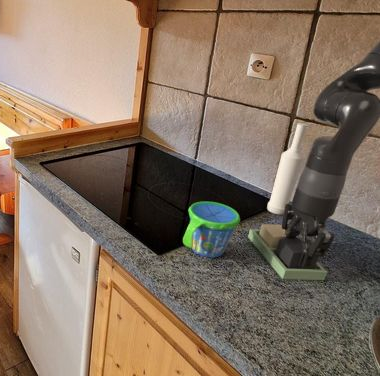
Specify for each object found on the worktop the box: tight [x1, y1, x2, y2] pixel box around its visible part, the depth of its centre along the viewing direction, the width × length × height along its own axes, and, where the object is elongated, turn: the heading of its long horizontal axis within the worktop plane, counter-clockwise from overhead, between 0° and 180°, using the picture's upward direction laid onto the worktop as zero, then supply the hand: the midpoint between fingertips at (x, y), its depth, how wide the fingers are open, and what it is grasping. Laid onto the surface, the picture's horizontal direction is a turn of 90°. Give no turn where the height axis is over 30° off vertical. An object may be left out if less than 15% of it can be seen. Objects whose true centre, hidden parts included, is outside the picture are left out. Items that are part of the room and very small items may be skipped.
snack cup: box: [182, 201, 241, 259], centre depth 93 cm, size 16×10×10 cm
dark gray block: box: [276, 238, 319, 269], centre depth 88 cm, size 6×6×4 cm
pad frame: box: [247, 228, 328, 281], centre depth 92 cm, size 9×17×2 cm, turn 179°
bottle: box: [266, 122, 308, 216], centre depth 108 cm, size 5×5×25 cm
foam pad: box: [259, 223, 299, 248], centre depth 95 cm, size 6×6×4 cm
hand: (295, 258), depth 88 cm, fingers closed on dark gray block, 5 cm apart
